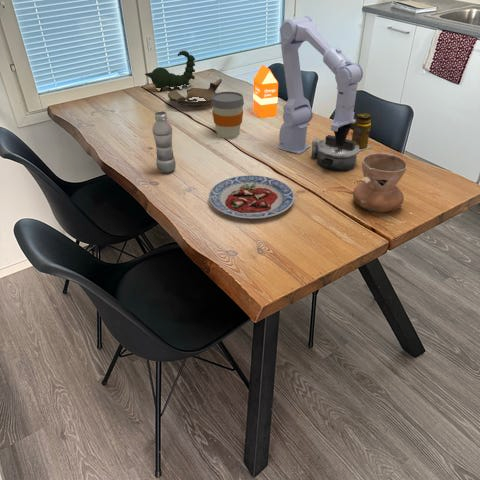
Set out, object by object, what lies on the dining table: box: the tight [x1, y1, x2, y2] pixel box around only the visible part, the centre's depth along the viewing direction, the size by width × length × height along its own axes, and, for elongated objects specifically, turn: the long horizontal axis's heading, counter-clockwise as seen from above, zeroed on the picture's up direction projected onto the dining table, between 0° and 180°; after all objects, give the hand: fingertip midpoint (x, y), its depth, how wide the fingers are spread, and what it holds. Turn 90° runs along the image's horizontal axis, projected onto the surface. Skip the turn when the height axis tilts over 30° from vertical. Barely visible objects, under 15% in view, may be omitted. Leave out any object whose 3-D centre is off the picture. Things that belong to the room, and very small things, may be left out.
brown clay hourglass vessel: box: [352, 152, 408, 213], centre depth 133 cm, size 18×14×14 cm
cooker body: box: [310, 143, 358, 173], centre depth 159 cm, size 16×18×5 cm
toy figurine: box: [144, 50, 196, 89], centre depth 224 cm, size 9×19×25 cm
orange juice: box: [252, 64, 279, 119], centre depth 194 cm, size 8×9×20 cm
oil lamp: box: [167, 78, 223, 107], centre depth 210 cm, size 22×30×8 cm
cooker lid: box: [311, 134, 360, 158], centre depth 156 cm, size 16×14×4 cm
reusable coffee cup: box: [210, 91, 245, 139], centre depth 177 cm, size 12×13×15 cm
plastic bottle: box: [152, 110, 177, 174], centre depth 149 cm, size 6×7×20 cm
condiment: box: [351, 112, 373, 152], centre depth 168 cm, size 7×8×12 cm
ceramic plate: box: [208, 175, 296, 220], centre depth 138 cm, size 26×26×3 cm
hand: (339, 144), depth 152 cm, fingers closed
